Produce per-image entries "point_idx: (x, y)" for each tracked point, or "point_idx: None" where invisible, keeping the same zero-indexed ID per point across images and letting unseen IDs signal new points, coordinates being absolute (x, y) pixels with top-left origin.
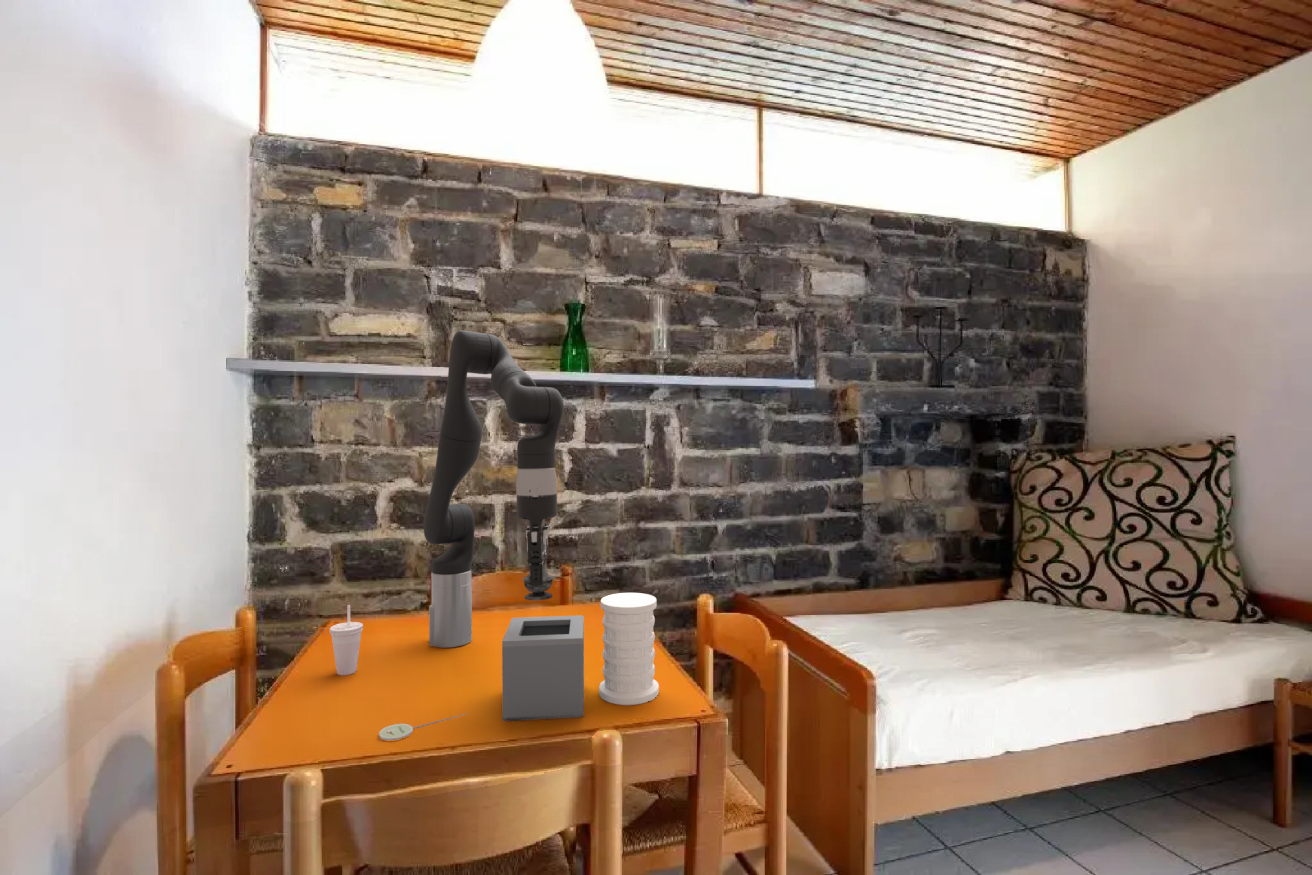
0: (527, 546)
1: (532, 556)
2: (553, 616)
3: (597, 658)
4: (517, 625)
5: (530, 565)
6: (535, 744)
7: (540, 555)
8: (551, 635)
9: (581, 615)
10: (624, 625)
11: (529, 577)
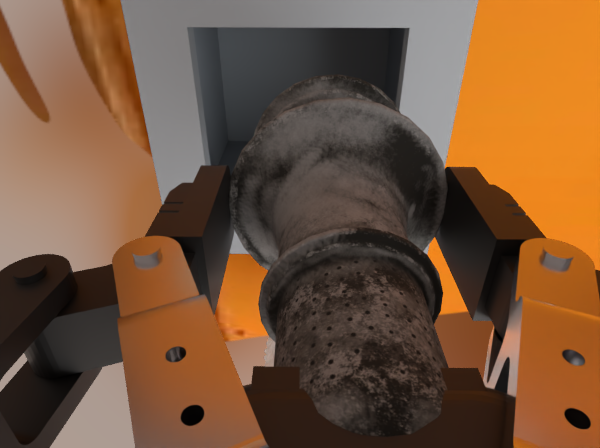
0: (125, 361)
1: (295, 286)
2: (445, 155)
3: (560, 184)
4: (343, 3)
5: (180, 237)
6: (87, 52)
7: (2, 404)
8: (197, 159)
9: (427, 249)
10: (266, 353)
11: (281, 164)
